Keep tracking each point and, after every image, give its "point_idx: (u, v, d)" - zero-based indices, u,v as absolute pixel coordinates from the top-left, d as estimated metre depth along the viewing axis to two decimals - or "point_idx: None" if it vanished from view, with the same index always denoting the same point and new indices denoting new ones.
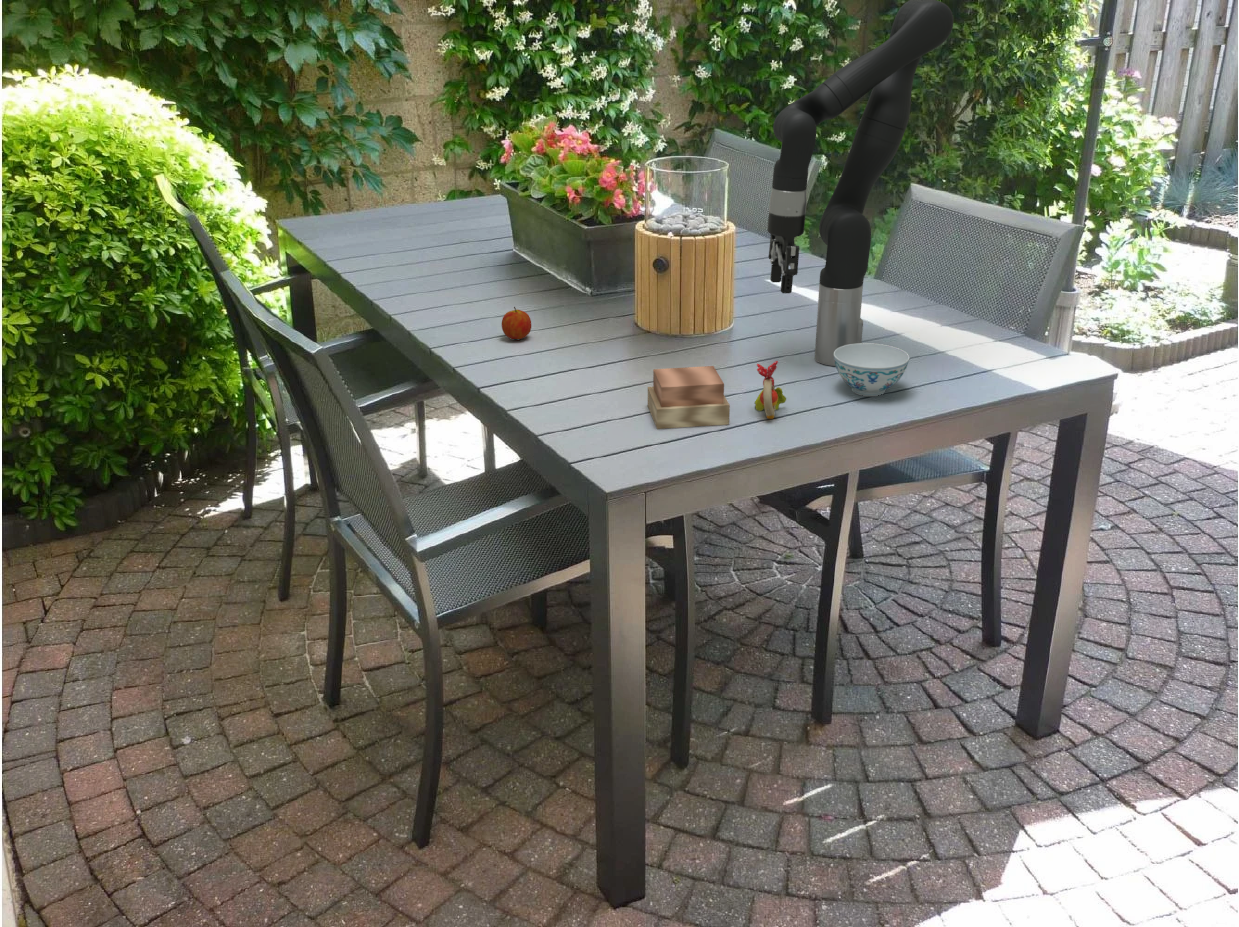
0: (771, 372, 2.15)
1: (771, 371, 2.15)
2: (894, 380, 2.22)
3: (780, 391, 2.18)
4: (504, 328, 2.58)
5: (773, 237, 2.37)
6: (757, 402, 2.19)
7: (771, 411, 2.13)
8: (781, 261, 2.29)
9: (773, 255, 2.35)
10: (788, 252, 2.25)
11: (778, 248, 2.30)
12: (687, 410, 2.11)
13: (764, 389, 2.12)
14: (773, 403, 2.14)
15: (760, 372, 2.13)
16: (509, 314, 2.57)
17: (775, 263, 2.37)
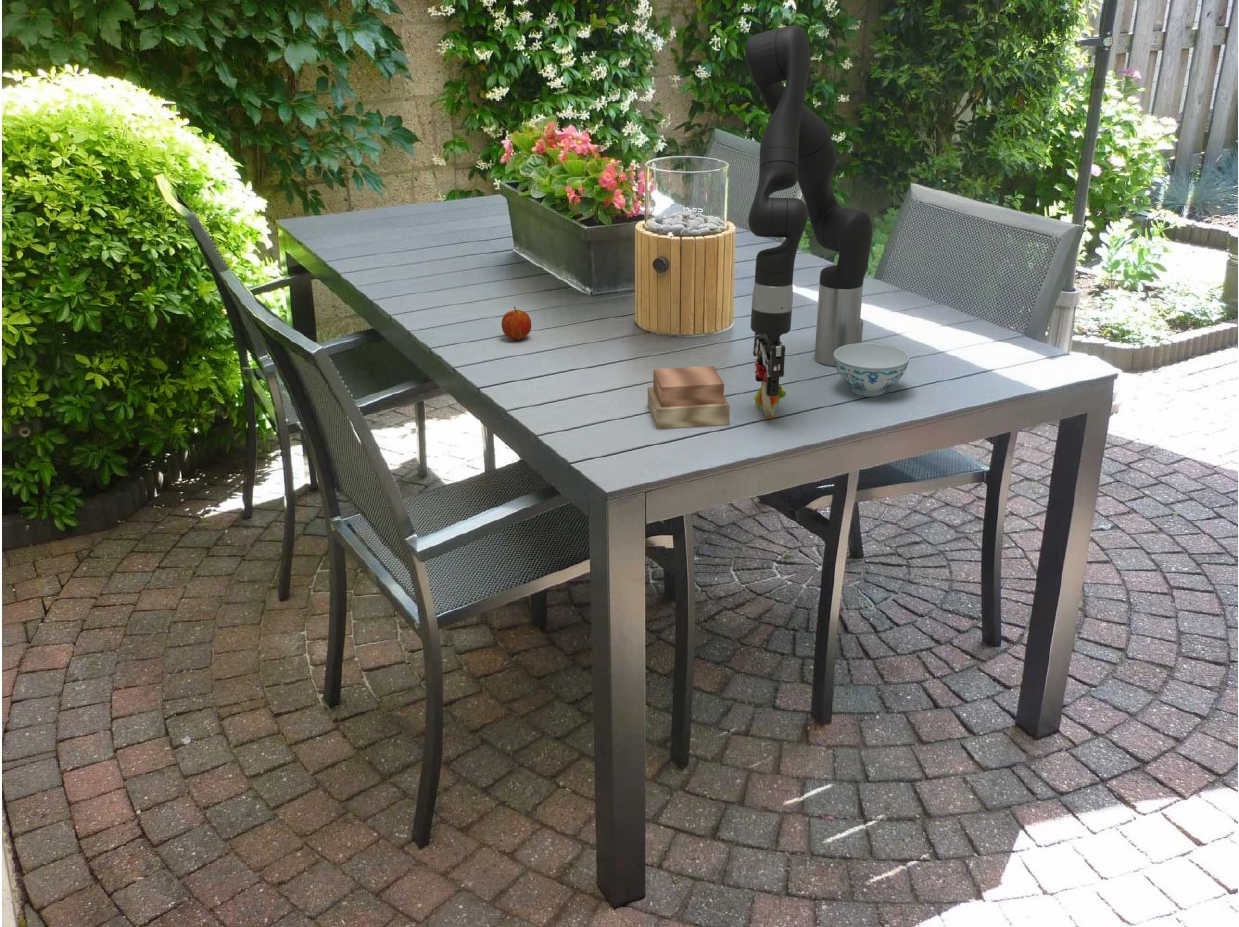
0: None
1: None
2: (894, 380, 2.22)
3: (780, 387, 2.17)
4: (504, 328, 2.58)
5: (758, 333, 2.16)
6: (757, 399, 2.18)
7: (770, 413, 2.13)
8: (766, 361, 2.08)
9: (757, 353, 2.14)
10: (773, 352, 2.04)
11: (762, 347, 2.09)
12: (687, 410, 2.11)
13: (762, 393, 2.11)
14: (772, 404, 2.13)
15: (758, 375, 2.12)
16: (509, 314, 2.57)
17: (760, 361, 2.16)
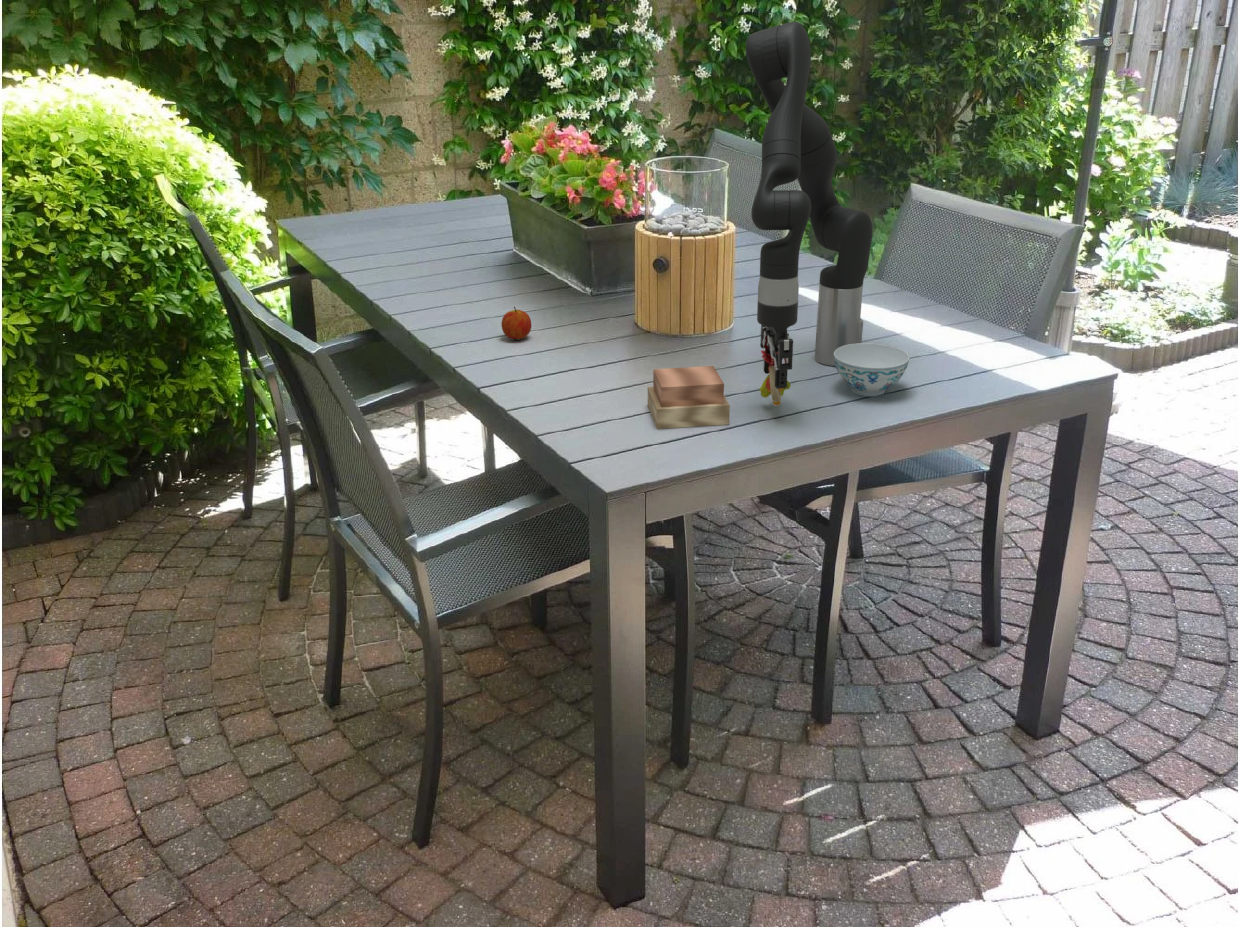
0: None
1: None
2: (894, 380, 2.22)
3: None
4: (504, 328, 2.58)
5: None
6: (762, 389, 2.19)
7: (778, 397, 2.13)
8: (774, 354, 2.08)
9: (765, 345, 2.14)
10: (781, 347, 2.04)
11: (770, 340, 2.09)
12: (687, 410, 2.11)
13: (770, 375, 2.12)
14: (779, 389, 2.13)
15: (765, 358, 2.13)
16: (509, 314, 2.57)
17: (768, 353, 2.16)
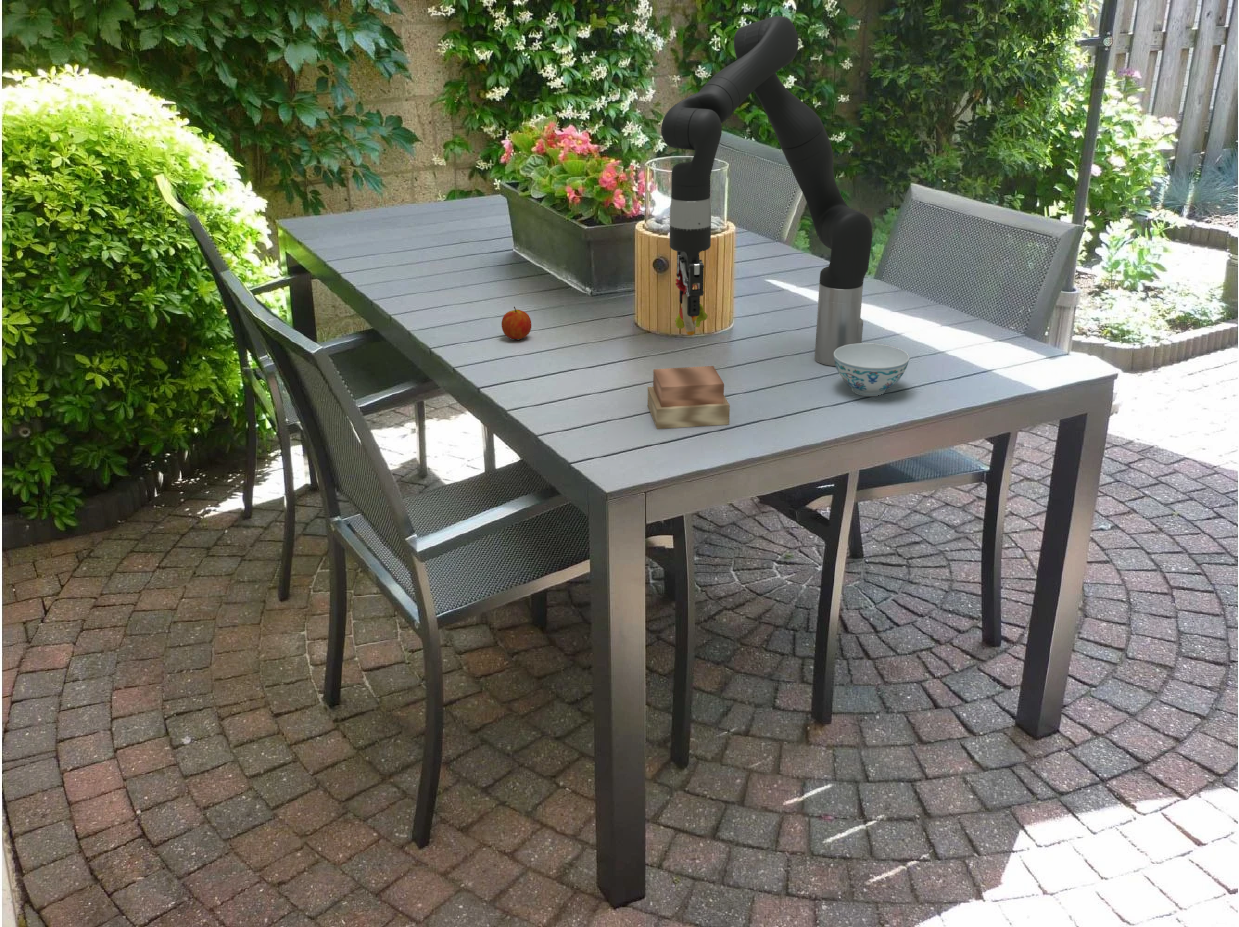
0: None
1: None
2: (894, 380, 2.22)
3: (701, 307, 2.12)
4: (504, 328, 2.58)
5: (679, 253, 2.10)
6: (677, 319, 2.13)
7: (691, 326, 2.07)
8: (685, 280, 2.02)
9: (679, 273, 2.08)
10: (691, 271, 1.99)
11: (682, 265, 2.03)
12: (687, 410, 2.11)
13: (683, 303, 2.06)
14: (693, 318, 2.07)
15: (679, 286, 2.07)
16: (509, 314, 2.57)
17: None
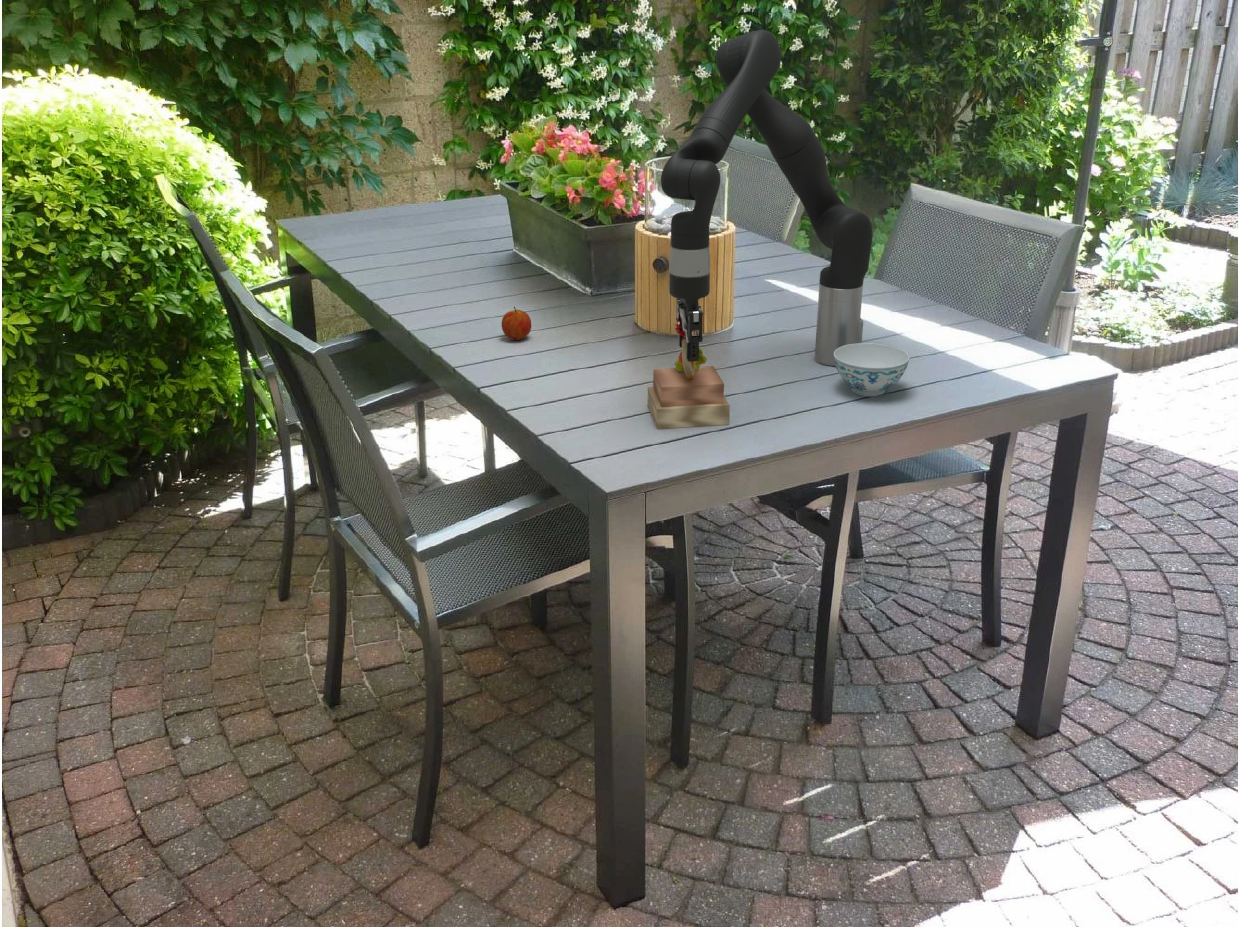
0: None
1: None
2: (894, 380, 2.22)
3: (700, 351, 2.16)
4: (504, 328, 2.58)
5: None
6: (677, 363, 2.16)
7: (690, 371, 2.10)
8: (685, 327, 2.06)
9: (679, 318, 2.12)
10: (690, 318, 2.02)
11: (681, 312, 2.07)
12: (687, 410, 2.11)
13: (682, 348, 2.09)
14: (692, 363, 2.11)
15: (678, 331, 2.11)
16: (509, 314, 2.57)
17: (683, 327, 2.14)
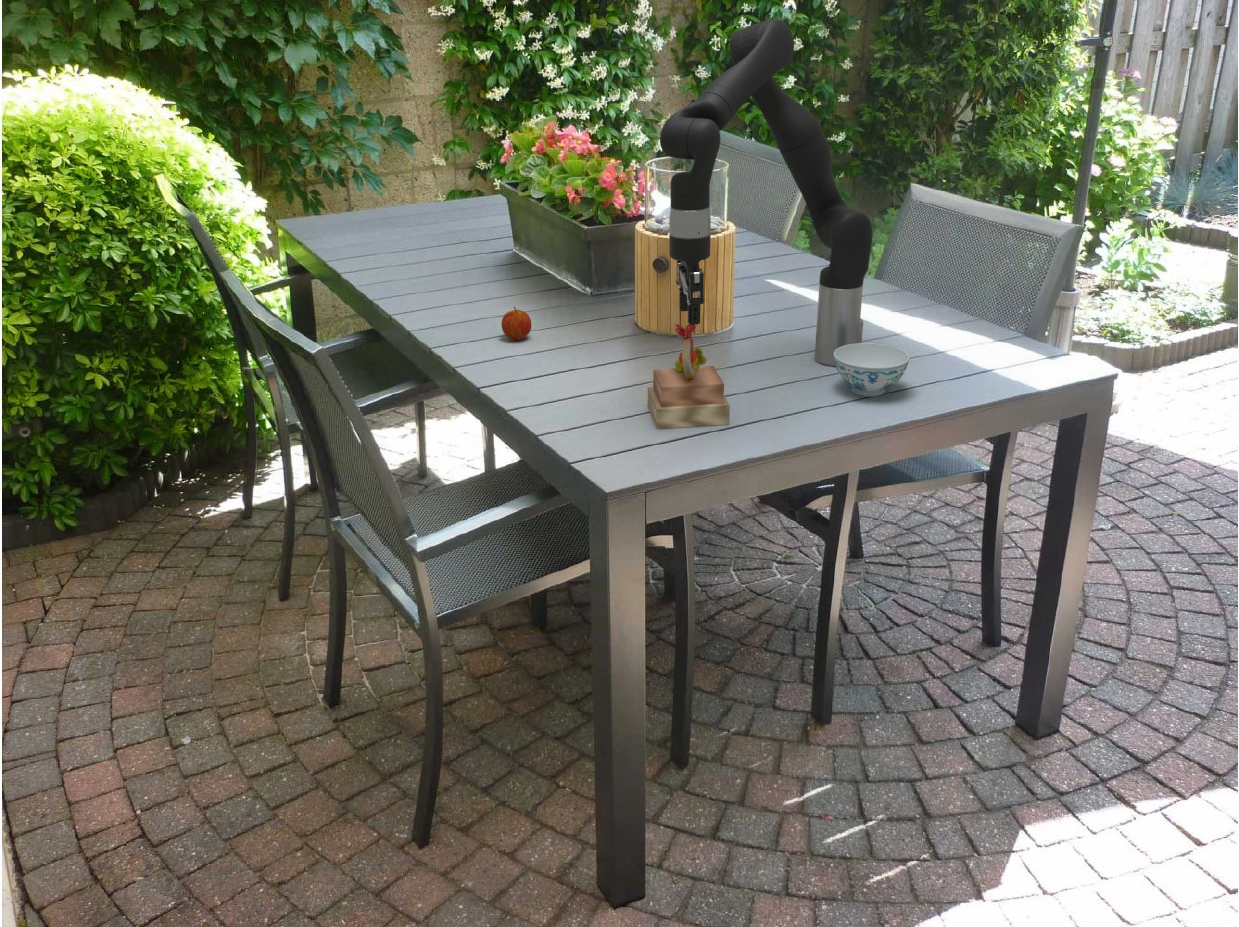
0: (690, 332, 2.13)
1: (690, 331, 2.12)
2: (894, 380, 2.22)
3: (700, 352, 2.16)
4: (504, 328, 2.58)
5: (679, 261, 2.10)
6: (677, 363, 2.16)
7: (690, 371, 2.11)
8: (686, 289, 2.03)
9: (679, 281, 2.09)
10: (691, 279, 1.99)
11: (682, 274, 2.03)
12: (687, 410, 2.11)
13: (682, 349, 2.09)
14: (692, 363, 2.11)
15: (678, 332, 2.11)
16: (509, 314, 2.57)
17: (683, 290, 2.11)
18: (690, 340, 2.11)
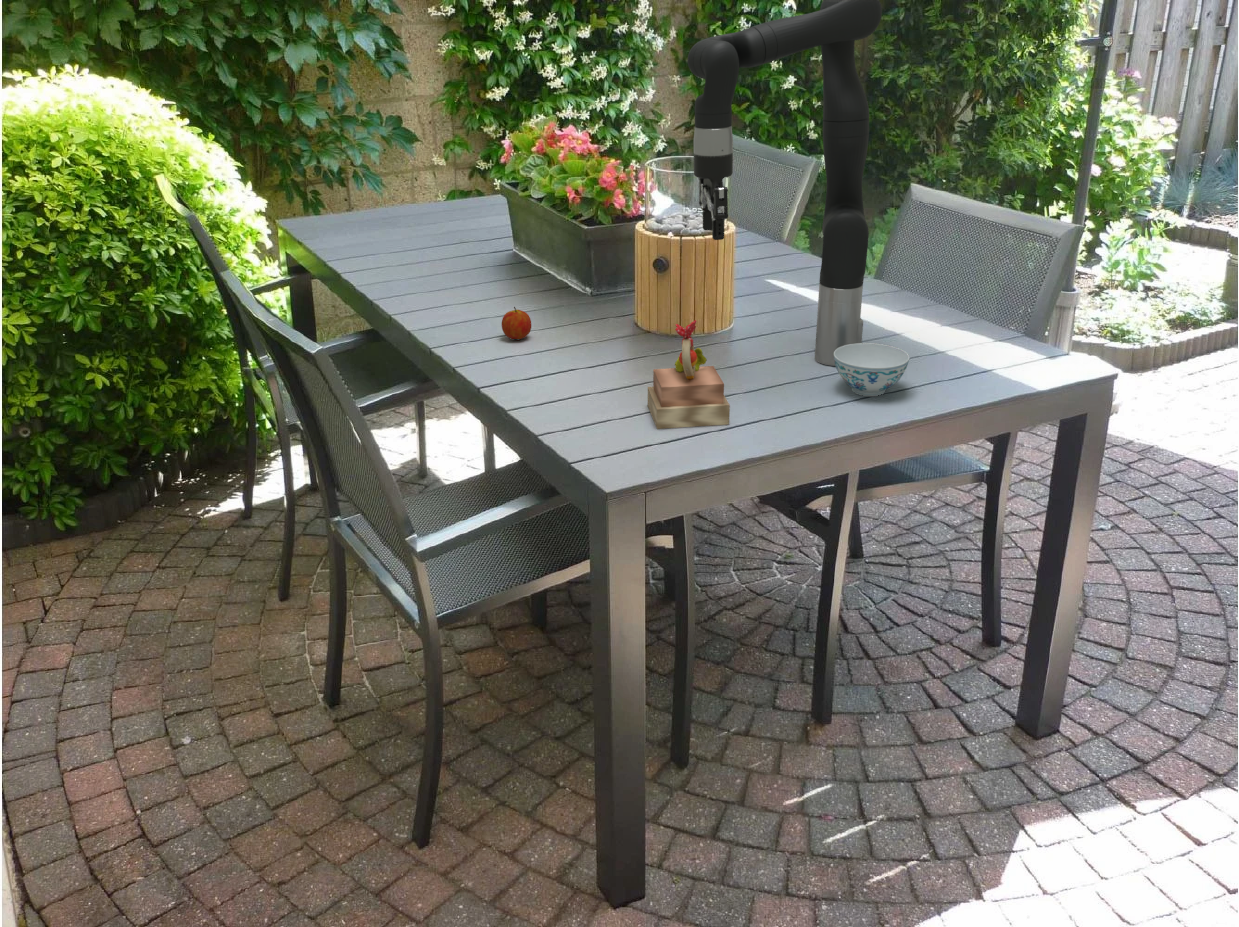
0: (690, 332, 2.12)
1: (690, 331, 2.12)
2: (894, 380, 2.22)
3: (700, 352, 2.16)
4: (504, 328, 2.58)
5: (702, 182, 2.21)
6: (677, 363, 2.16)
7: (690, 371, 2.11)
8: (710, 205, 2.14)
9: (702, 200, 2.20)
10: (716, 194, 2.10)
11: (706, 192, 2.15)
12: (687, 410, 2.11)
13: (682, 349, 2.09)
14: (692, 363, 2.11)
15: (678, 332, 2.11)
16: (509, 314, 2.57)
17: (706, 209, 2.22)
18: (690, 340, 2.11)
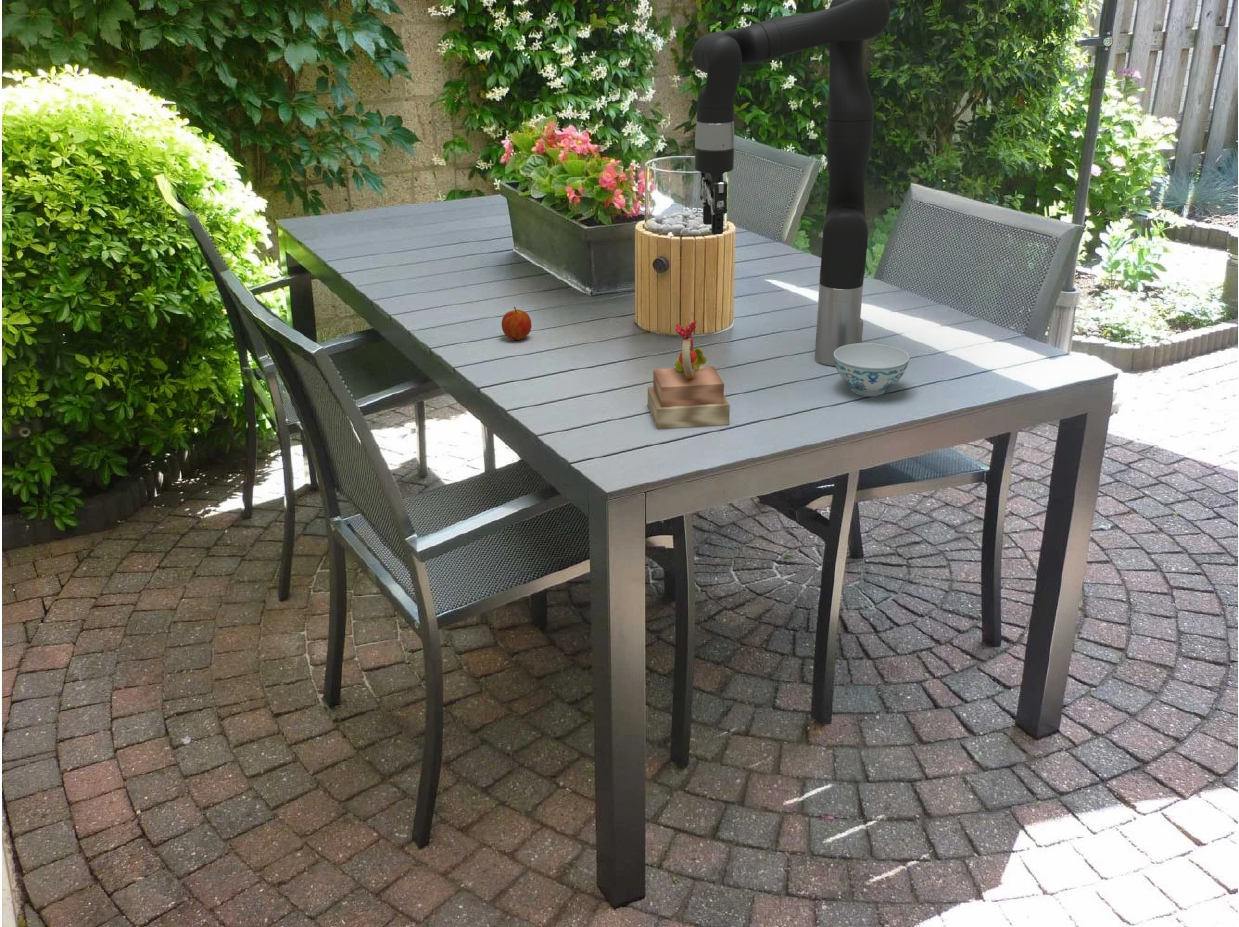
0: (690, 332, 2.12)
1: (690, 331, 2.12)
2: (894, 380, 2.22)
3: (700, 352, 2.16)
4: (504, 328, 2.58)
5: (703, 176, 2.22)
6: (677, 363, 2.16)
7: (690, 371, 2.11)
8: (710, 199, 2.15)
9: (703, 195, 2.21)
10: (716, 189, 2.11)
11: (706, 186, 2.15)
12: (687, 410, 2.11)
13: (682, 349, 2.09)
14: (692, 363, 2.11)
15: (678, 332, 2.11)
16: (509, 314, 2.57)
17: (707, 204, 2.23)
18: (690, 340, 2.11)
